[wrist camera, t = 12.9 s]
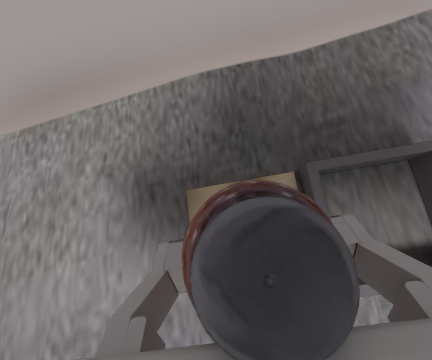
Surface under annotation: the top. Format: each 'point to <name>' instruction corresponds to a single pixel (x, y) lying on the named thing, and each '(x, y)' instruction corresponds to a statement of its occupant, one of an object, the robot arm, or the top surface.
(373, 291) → the holder
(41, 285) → the top surface
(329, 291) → the supplement bottle
